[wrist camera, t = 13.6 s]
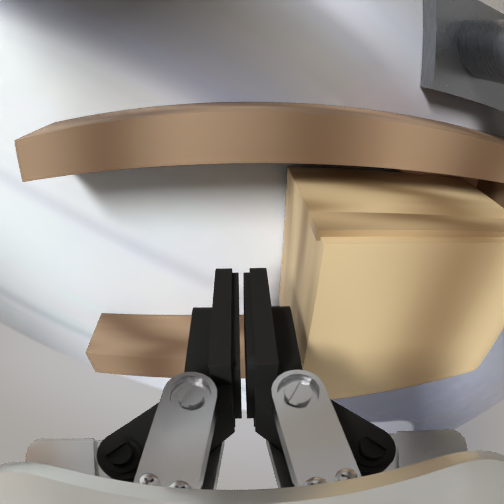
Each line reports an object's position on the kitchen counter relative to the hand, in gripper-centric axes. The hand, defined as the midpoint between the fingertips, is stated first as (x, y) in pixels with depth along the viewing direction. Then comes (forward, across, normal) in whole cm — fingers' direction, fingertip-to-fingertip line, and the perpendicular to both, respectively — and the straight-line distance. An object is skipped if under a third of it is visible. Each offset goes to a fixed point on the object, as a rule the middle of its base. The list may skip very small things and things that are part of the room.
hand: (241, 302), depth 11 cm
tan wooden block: (+4, -6, 0) cm, 8 cm away
